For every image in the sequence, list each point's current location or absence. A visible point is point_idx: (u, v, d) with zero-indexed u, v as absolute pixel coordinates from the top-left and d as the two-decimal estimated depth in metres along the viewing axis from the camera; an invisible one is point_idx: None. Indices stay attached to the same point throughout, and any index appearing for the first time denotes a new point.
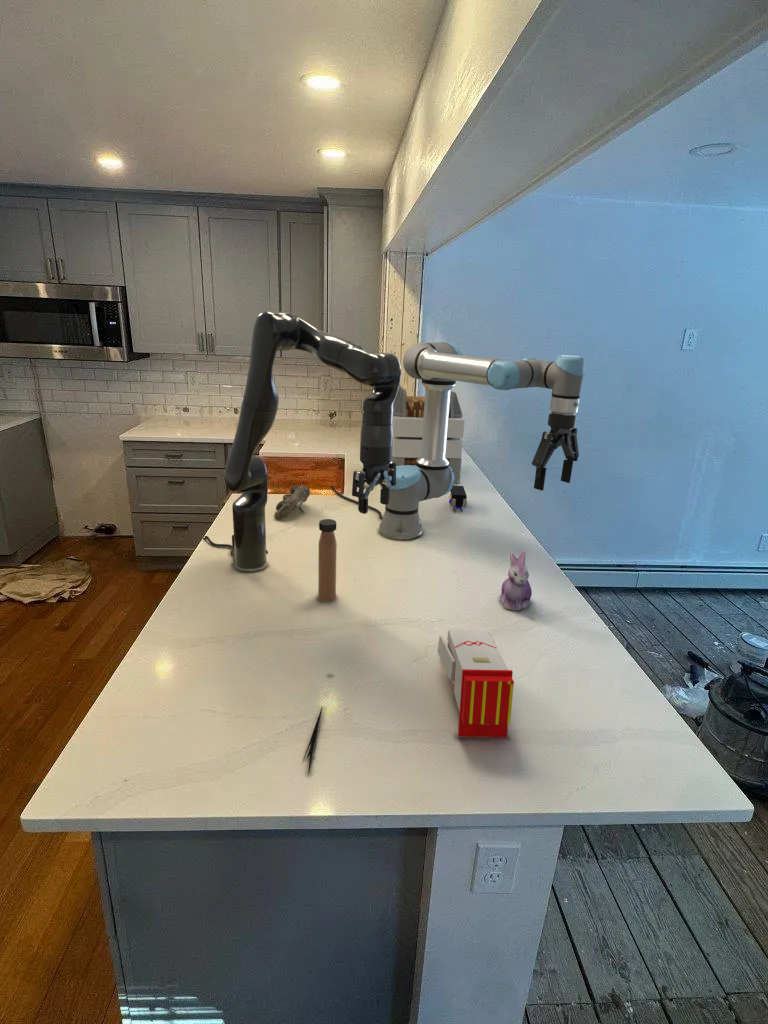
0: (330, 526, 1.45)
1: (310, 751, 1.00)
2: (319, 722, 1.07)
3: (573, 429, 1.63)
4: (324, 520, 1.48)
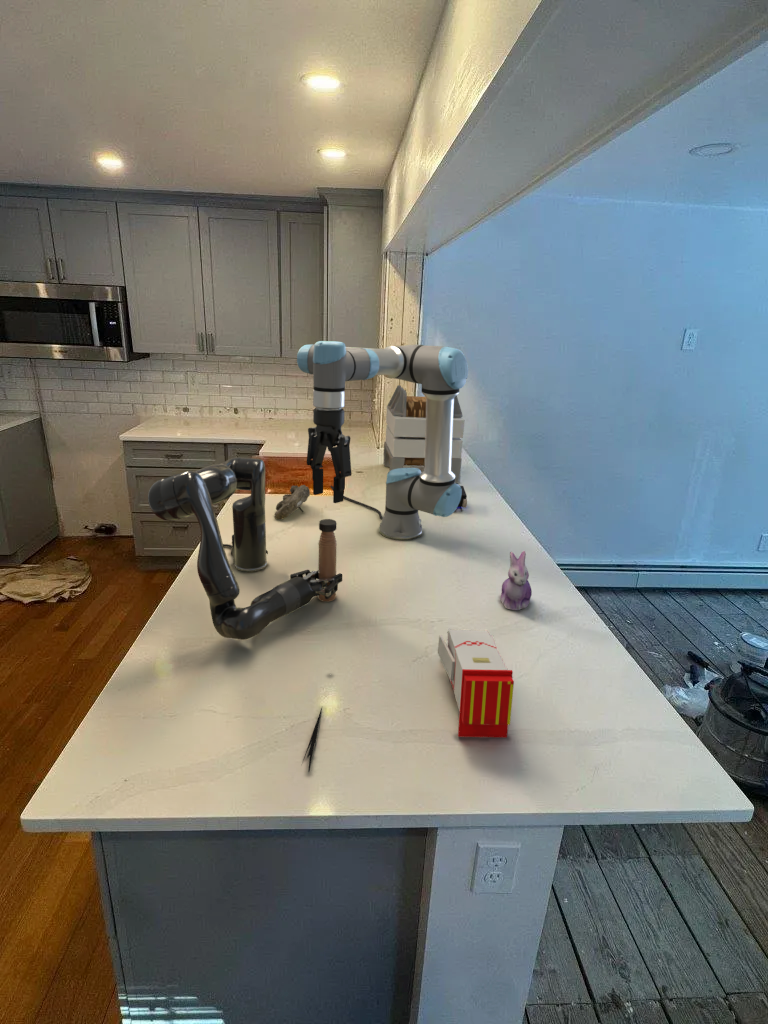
0: (330, 526, 1.45)
1: (310, 751, 1.00)
2: (319, 722, 1.07)
3: (316, 428, 1.43)
4: (324, 520, 1.48)
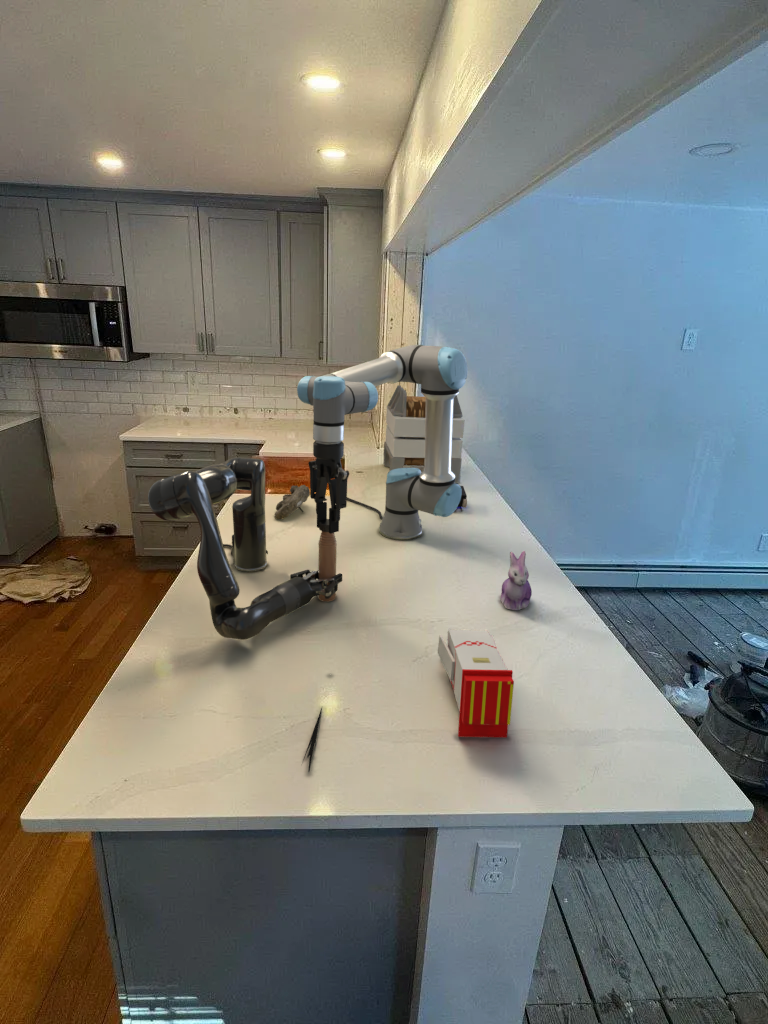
0: None
1: (310, 751, 1.00)
2: (319, 722, 1.07)
3: (316, 461, 1.46)
4: (324, 520, 1.48)
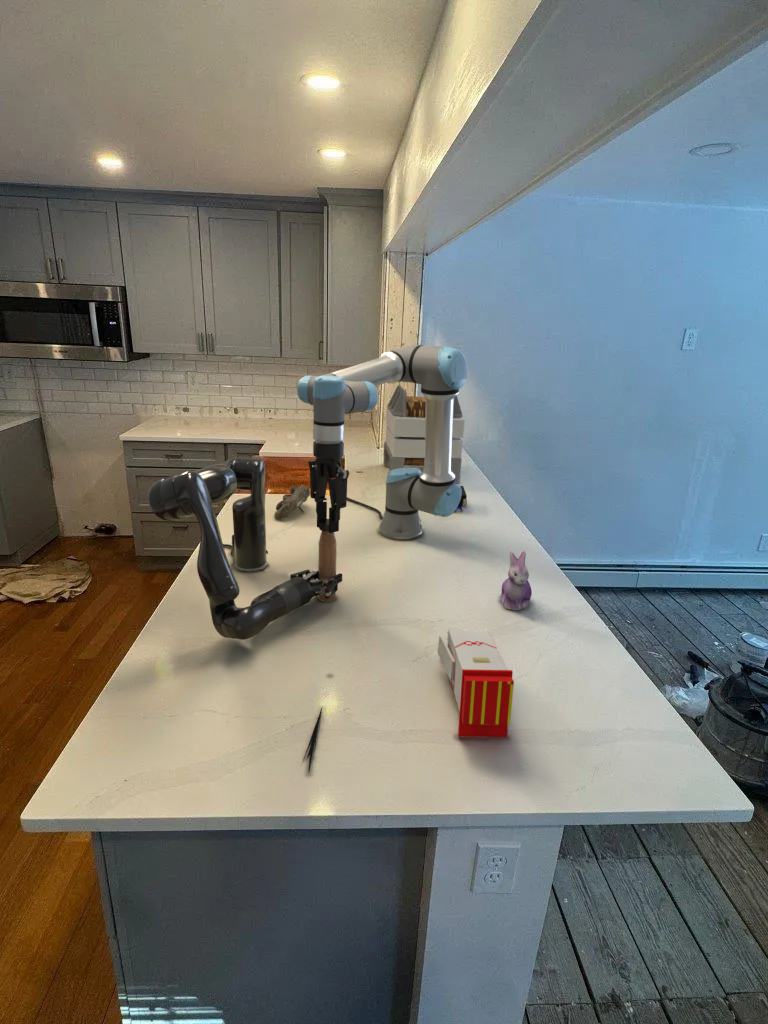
0: None
1: (310, 751, 1.00)
2: (319, 722, 1.07)
3: None
4: (322, 522, 1.46)
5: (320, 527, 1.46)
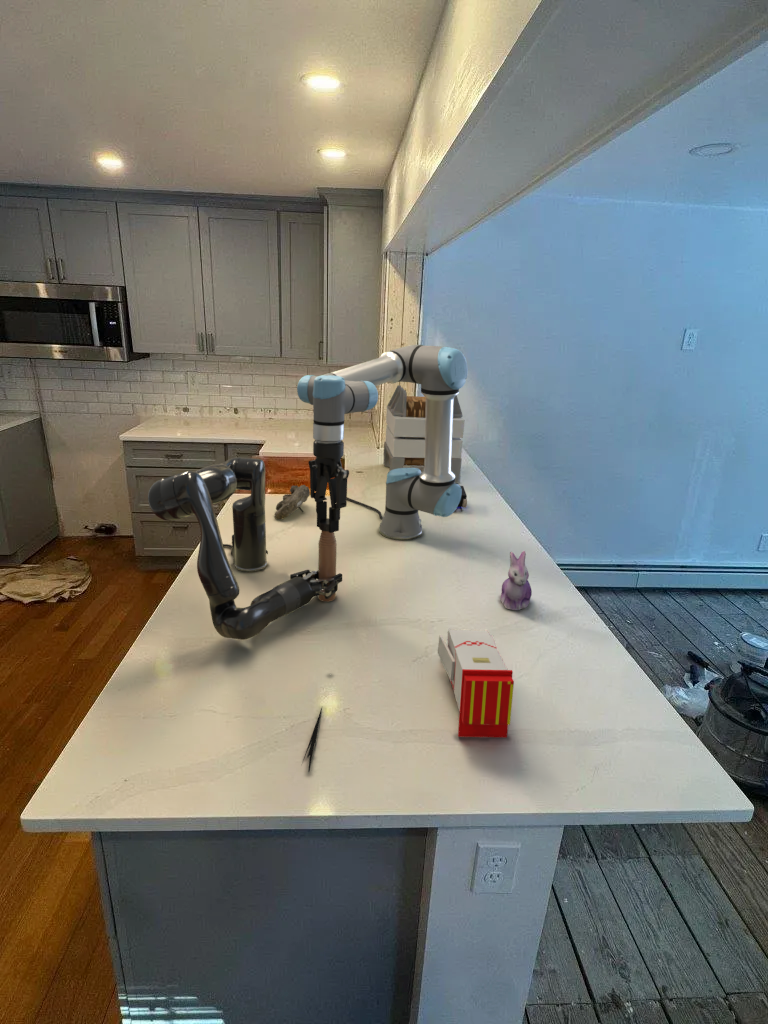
0: None
1: (310, 751, 1.00)
2: (319, 722, 1.07)
3: None
4: None
5: None
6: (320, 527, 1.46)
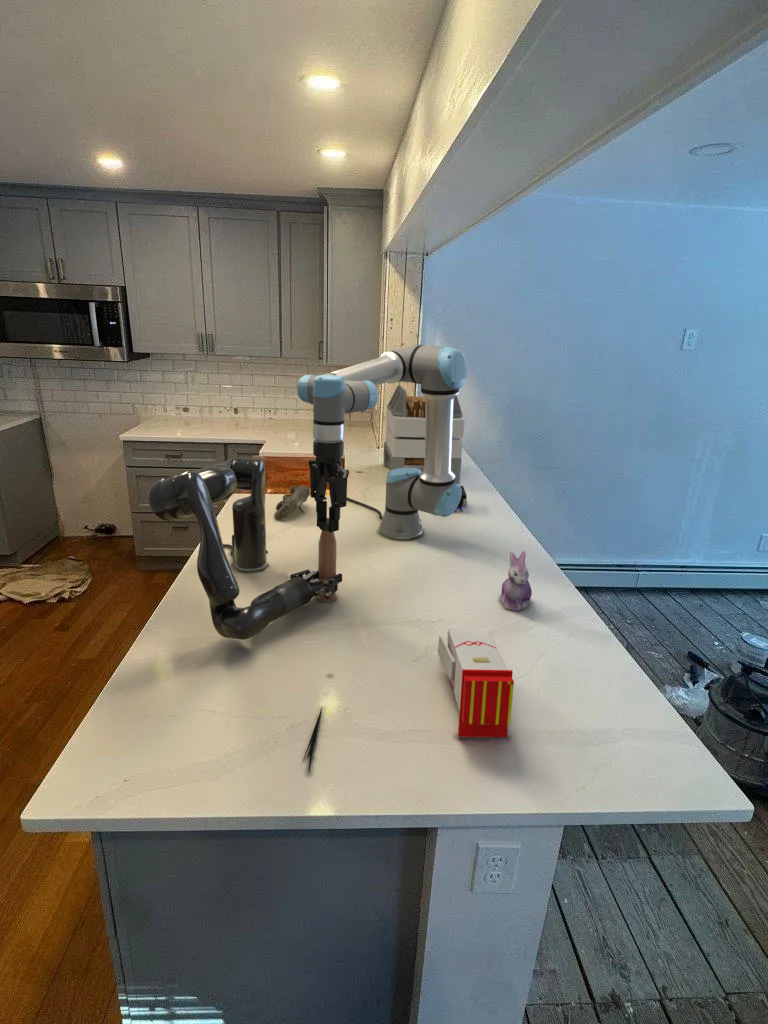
0: None
1: (310, 751, 1.00)
2: (319, 722, 1.07)
3: None
4: None
5: None
6: None
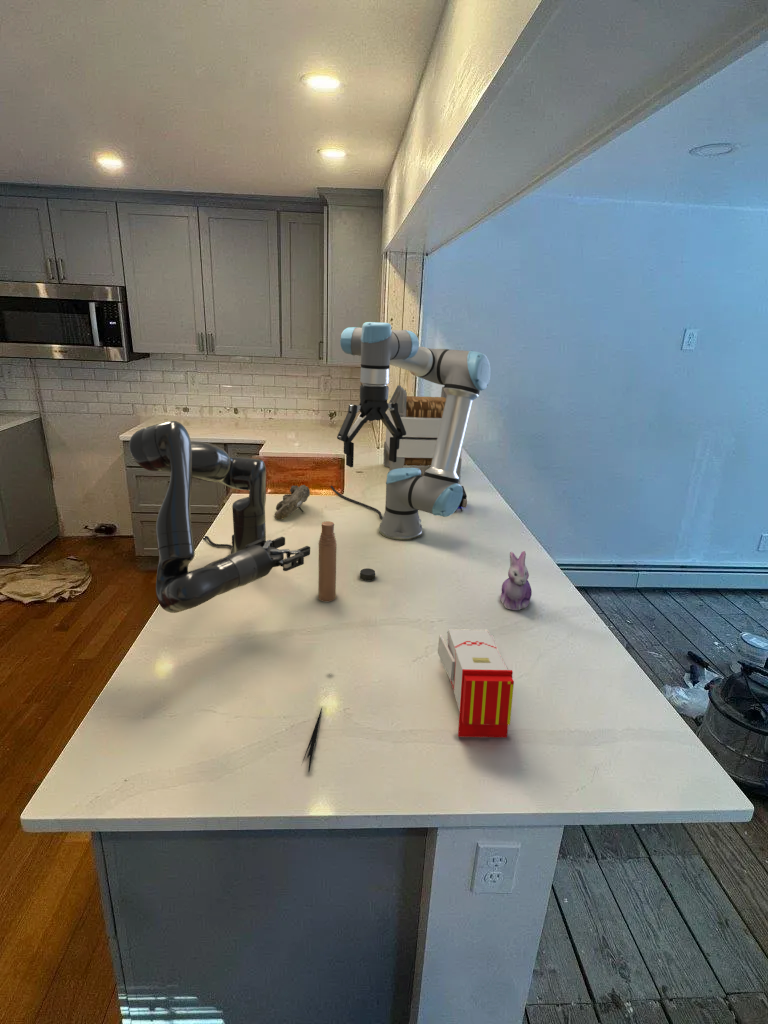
0: (373, 574, 1.65)
1: (310, 751, 1.00)
2: (319, 722, 1.07)
3: None
4: (363, 570, 1.66)
5: None
6: None
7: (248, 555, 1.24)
